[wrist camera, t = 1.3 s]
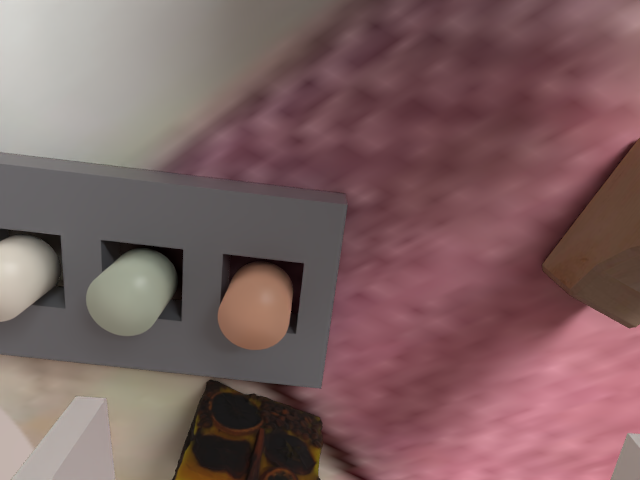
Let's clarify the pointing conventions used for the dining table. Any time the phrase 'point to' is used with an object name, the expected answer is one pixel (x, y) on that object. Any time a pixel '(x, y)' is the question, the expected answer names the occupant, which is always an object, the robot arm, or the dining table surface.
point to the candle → (249, 439)
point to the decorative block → (605, 247)
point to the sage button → (132, 292)
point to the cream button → (25, 273)
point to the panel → (198, 264)
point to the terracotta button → (256, 306)
